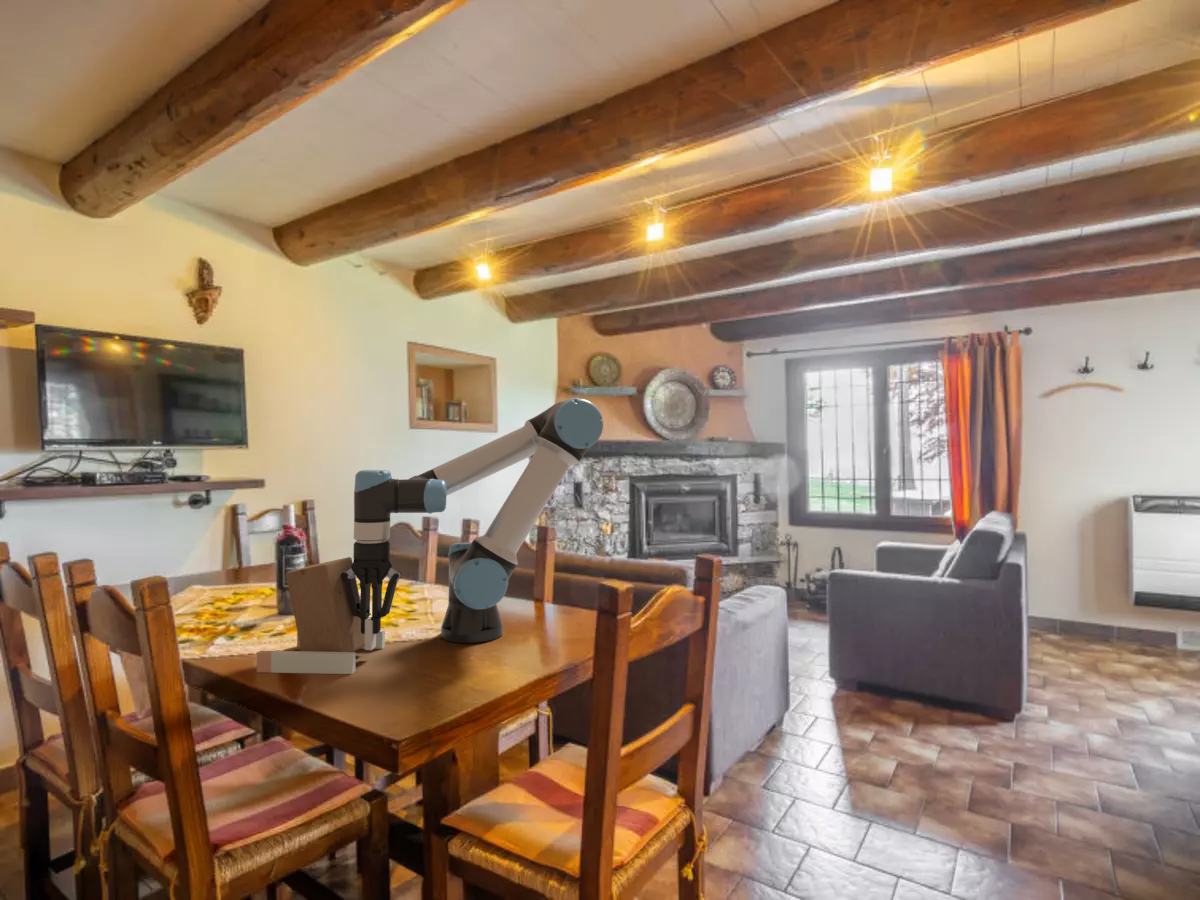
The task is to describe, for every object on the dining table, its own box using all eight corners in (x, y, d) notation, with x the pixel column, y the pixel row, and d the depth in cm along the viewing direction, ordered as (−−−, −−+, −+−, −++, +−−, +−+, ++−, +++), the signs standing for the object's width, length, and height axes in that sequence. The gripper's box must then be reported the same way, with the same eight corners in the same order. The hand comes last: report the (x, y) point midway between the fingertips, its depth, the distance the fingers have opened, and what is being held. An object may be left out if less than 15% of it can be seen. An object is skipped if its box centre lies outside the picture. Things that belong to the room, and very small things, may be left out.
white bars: (384, 646, 150) (384, 629, 150) (352, 674, 132) (352, 654, 132) (300, 645, 150) (300, 628, 150) (256, 672, 132) (256, 652, 132)
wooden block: (344, 657, 135) (324, 564, 136) (303, 664, 137) (284, 572, 138) (370, 643, 145) (352, 556, 146) (331, 650, 147) (314, 564, 148)
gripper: (407, 538, 144) (405, 643, 144) (349, 537, 145) (348, 642, 145) (395, 543, 137) (393, 654, 137) (335, 542, 137) (333, 652, 137)
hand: (370, 648), depth 141 cm, fingers closed
